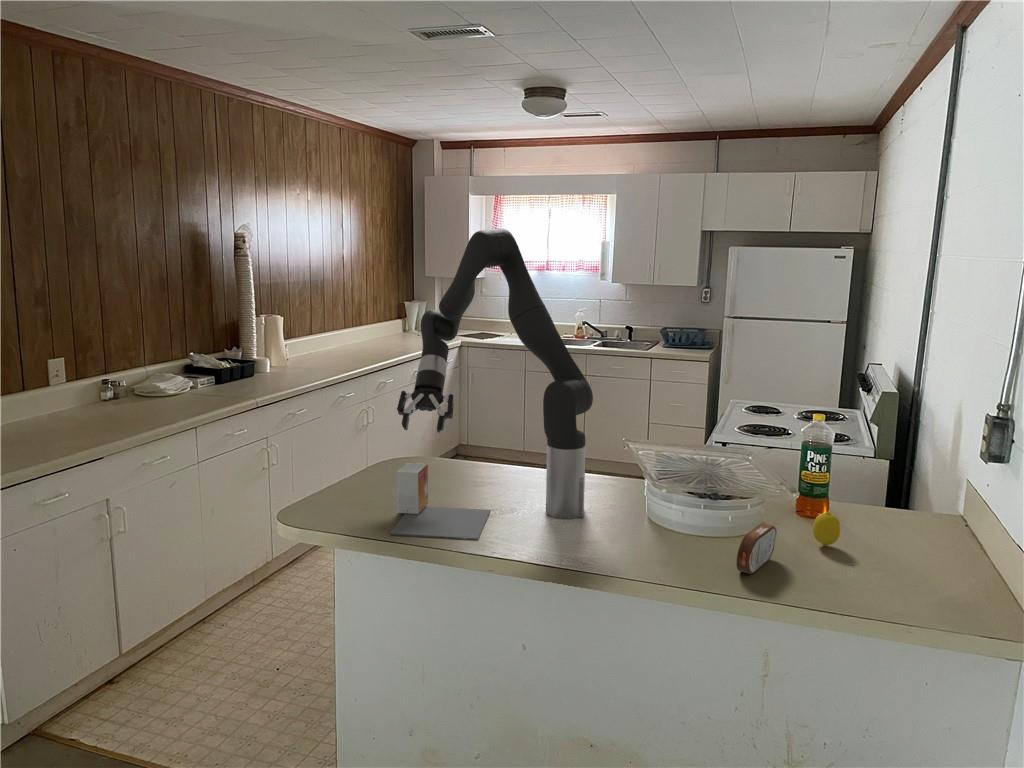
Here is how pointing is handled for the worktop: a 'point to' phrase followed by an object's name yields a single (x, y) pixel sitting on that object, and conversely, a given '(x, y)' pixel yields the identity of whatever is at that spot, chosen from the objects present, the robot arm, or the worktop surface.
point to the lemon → (826, 529)
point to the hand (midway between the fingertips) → (422, 429)
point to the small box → (412, 488)
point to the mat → (443, 523)
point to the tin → (756, 548)
